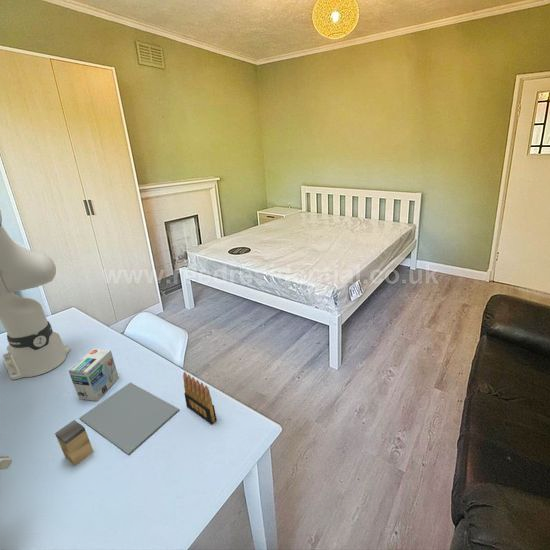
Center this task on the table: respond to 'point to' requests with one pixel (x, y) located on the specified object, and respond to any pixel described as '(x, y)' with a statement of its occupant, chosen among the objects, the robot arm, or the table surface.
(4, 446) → the table surface
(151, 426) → the slate mat
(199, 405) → the ammunition clip
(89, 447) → the oak block
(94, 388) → the light bulb box
